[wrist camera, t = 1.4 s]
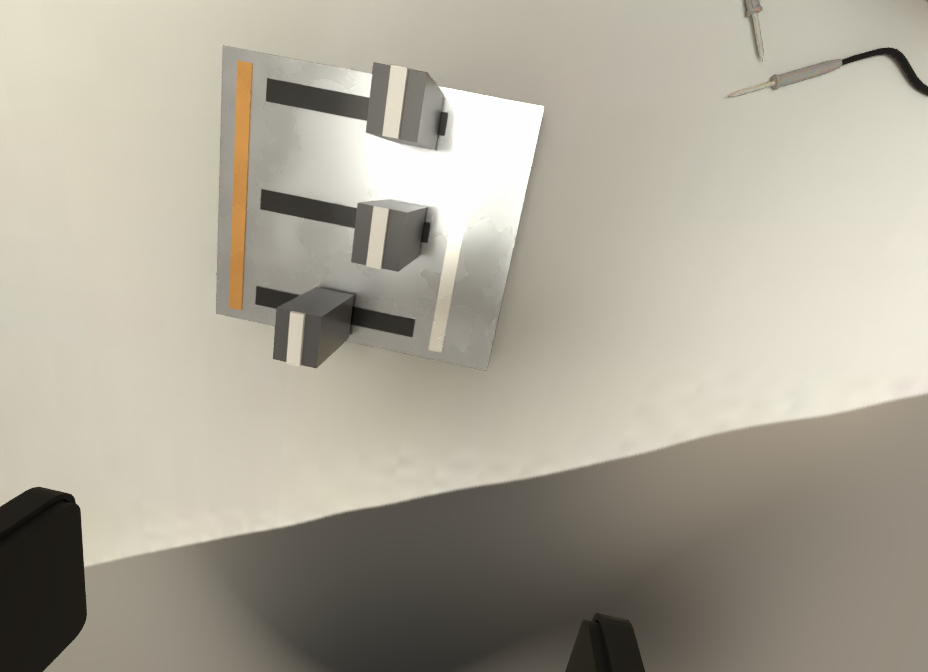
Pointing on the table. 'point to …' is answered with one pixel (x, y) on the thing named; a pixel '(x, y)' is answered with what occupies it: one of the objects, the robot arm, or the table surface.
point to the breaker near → (404, 106)
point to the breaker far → (312, 326)
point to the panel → (360, 180)
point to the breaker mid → (387, 234)
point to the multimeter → (823, 67)
